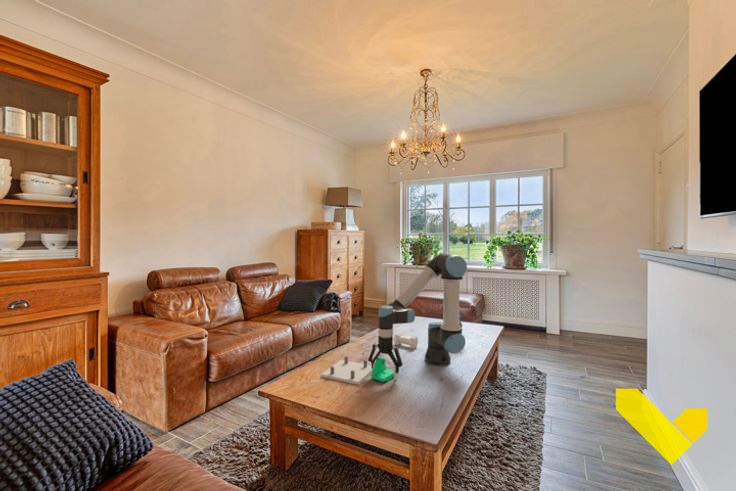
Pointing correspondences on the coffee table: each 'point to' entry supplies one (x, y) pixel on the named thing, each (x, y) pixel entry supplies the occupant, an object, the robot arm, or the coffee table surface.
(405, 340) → the dog bone
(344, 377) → the stub plate
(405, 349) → the coffee table surface
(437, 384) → the coffee table surface
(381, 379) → the camera mount
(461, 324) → the beverage bottle
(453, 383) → the coffee table surface
